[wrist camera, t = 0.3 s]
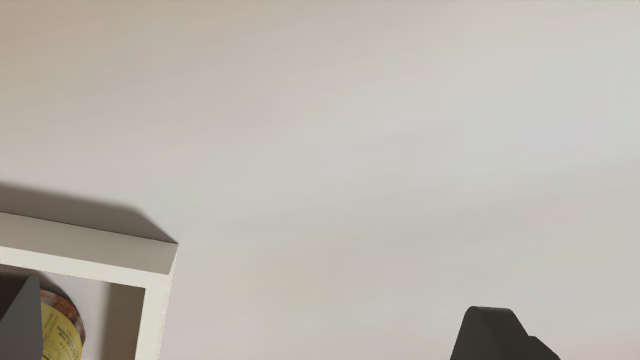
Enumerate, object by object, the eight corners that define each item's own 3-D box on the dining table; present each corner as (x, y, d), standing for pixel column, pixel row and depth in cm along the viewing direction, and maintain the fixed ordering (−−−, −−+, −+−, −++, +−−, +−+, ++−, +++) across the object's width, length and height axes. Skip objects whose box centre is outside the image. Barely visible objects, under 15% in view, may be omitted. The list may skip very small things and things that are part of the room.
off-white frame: (-97, 194, 28) (-138, 222, 26) (178, 244, 30) (168, 275, 28) (-88, 397, 34) (-121, 438, 31) (146, 427, 36) (135, 468, 33)
